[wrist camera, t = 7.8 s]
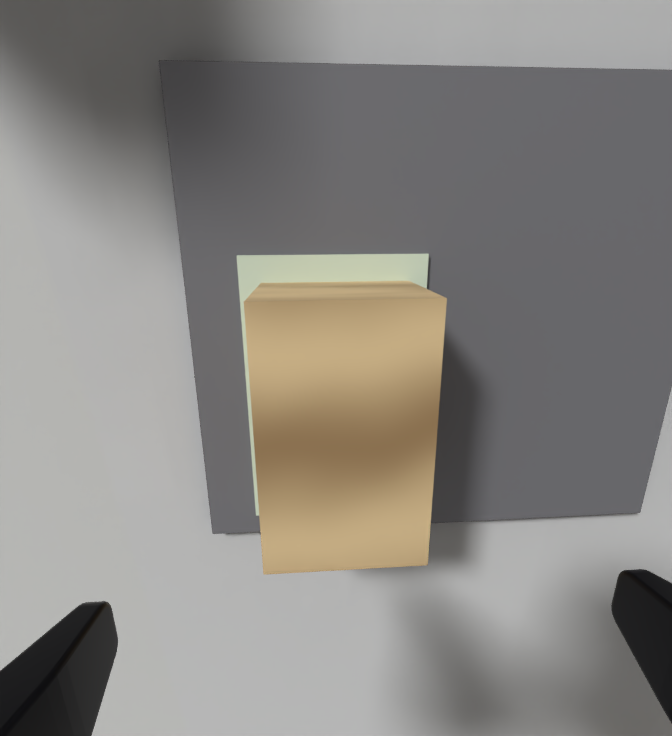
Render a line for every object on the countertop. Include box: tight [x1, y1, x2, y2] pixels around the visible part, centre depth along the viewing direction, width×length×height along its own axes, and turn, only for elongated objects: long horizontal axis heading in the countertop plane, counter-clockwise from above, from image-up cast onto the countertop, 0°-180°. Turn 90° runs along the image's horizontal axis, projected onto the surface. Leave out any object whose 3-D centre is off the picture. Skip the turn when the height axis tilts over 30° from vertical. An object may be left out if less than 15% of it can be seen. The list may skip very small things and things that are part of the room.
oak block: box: [244, 281, 447, 574], centre depth 15 cm, size 9×6×4 cm, turn 1°
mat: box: [159, 60, 672, 534], centre depth 17 cm, size 20×18×1 cm
